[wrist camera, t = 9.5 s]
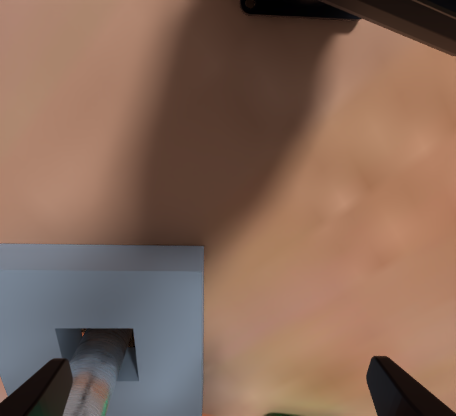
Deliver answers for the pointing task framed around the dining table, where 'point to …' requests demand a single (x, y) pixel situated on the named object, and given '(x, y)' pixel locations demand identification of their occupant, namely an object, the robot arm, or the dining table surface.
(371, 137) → the dining table surface
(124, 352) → the pin
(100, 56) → the dining table surface
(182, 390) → the socket plate
